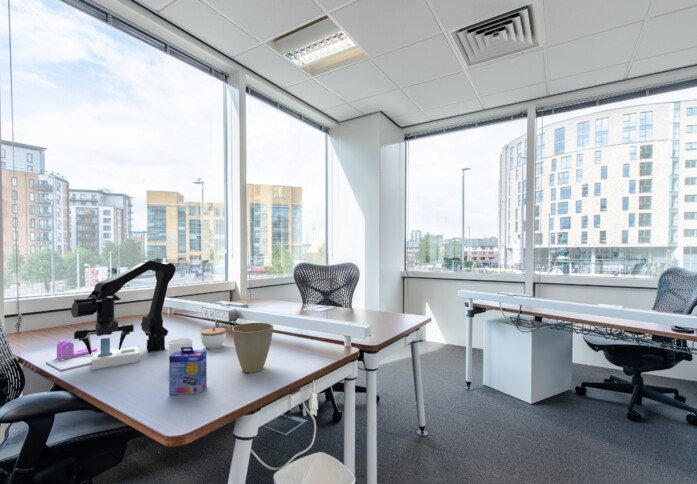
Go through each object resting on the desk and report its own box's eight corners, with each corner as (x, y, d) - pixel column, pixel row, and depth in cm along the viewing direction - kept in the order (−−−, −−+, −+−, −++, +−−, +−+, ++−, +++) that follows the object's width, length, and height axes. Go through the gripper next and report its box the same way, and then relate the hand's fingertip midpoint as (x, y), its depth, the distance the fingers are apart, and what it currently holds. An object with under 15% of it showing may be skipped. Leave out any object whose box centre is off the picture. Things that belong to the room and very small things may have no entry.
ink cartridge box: (167, 395, 99) (168, 348, 100) (175, 388, 105) (176, 343, 105) (200, 394, 100) (201, 347, 101) (207, 386, 106) (207, 342, 106)
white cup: (196, 364, 126) (196, 339, 126) (180, 371, 119) (180, 344, 119) (181, 362, 129) (181, 337, 129) (164, 369, 121) (164, 342, 121)
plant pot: (235, 380, 111) (235, 333, 111) (229, 366, 124) (229, 325, 124) (278, 372, 117) (278, 328, 118) (268, 360, 131) (268, 320, 131)
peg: (110, 361, 130) (110, 336, 130) (109, 363, 128) (109, 338, 128) (100, 363, 128) (100, 338, 129) (100, 365, 126) (100, 339, 126)
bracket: (62, 360, 132) (62, 343, 133) (56, 358, 135) (56, 341, 135) (99, 351, 144) (99, 335, 144) (93, 349, 146) (93, 334, 147)
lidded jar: (227, 343, 155) (227, 323, 155) (224, 350, 144) (224, 329, 145) (203, 344, 153) (204, 325, 153) (198, 351, 142) (198, 330, 142)
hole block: (138, 354, 139) (138, 346, 139) (139, 361, 130) (139, 352, 130) (94, 361, 130) (94, 352, 130) (91, 369, 121) (91, 360, 121)
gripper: (72, 319, 117) (71, 362, 116) (133, 313, 127) (133, 353, 127) (76, 314, 126) (75, 354, 125) (133, 309, 136) (133, 346, 136)
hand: (105, 352), depth 128 cm, fingers open, 9 cm apart
